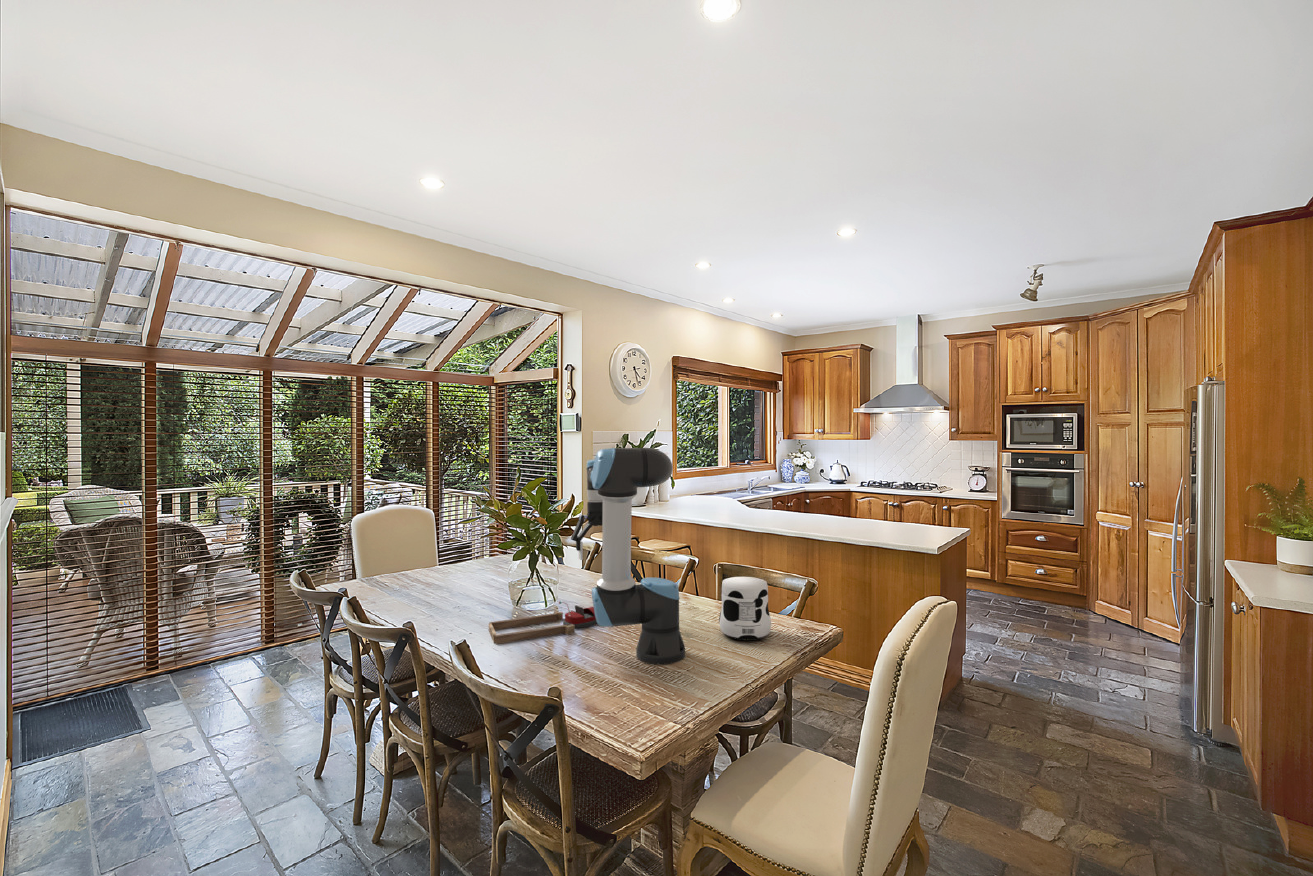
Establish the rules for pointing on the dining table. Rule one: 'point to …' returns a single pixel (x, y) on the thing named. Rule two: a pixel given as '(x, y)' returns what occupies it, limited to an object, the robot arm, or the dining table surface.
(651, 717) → the dining table surface
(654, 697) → the dining table surface
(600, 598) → the robot arm
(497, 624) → the cradle
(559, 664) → the dining table surface
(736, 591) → the milk container
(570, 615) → the bumper car
